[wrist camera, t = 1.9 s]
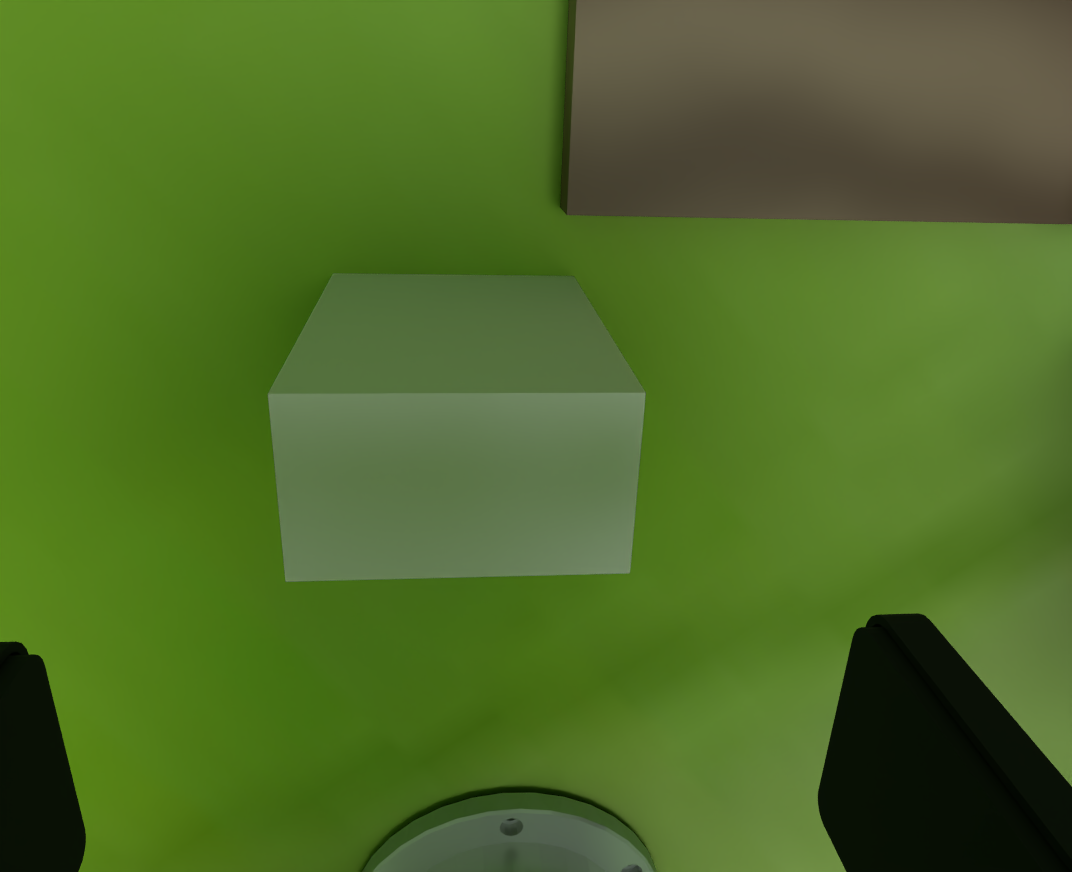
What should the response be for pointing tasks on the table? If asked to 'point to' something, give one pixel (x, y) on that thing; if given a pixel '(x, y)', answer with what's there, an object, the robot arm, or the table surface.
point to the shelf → (820, 110)
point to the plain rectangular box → (455, 432)
